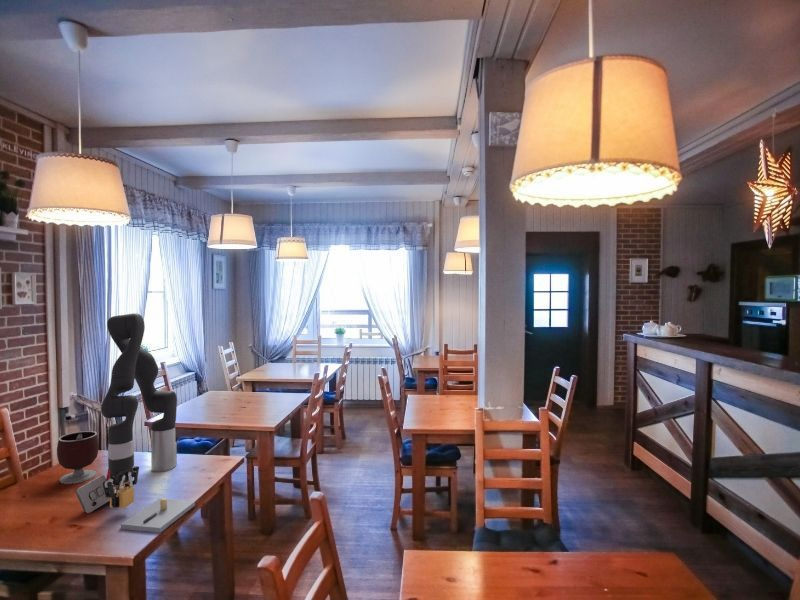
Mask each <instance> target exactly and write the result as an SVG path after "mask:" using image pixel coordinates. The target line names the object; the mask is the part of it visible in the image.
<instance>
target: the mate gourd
mask: <svg viewBox="0 0 800 600" xmlns="http://www.w3.org/2000/svg"><path fill="white" fill-rule="evenodd" d="M99 446H100V442H99V436H98V431H97V432H96V431H95V430H94V431H92V430H84V431H76V432H71V433H66V434H65V435H64V434H63V435H62V436H59V438H58V441H57V447H56V456H57V457H56V458H57V460H58V463H59V465H60V466H61V467H62V468H64V469H67V470H73V472H70V473H67V474H65V475H62V476H61V477H60V478H59V482H60V483H61V484H63V483H64V484H63V485H73V484H80V483H83V482H86V481H90V480H93V478H94V479H95V478H96V476H97V471H96V470H93V469H84V468H85V467H88V466H90V465H92V464H93V462H94V461H95V460H96V459H97V457H98V454H99V448H100V447H99ZM72 483H73V484H72Z"/></svg>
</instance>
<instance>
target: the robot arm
mask: <svg viewBox="0 0 800 600" xmlns="http://www.w3.org/2000/svg"><path fill="white" fill-rule="evenodd" d="M106 325H107V330H108V333H109V336H110V337H111V339H112V340H113V342H114V343H115V345H116V347H117V348H118V350H119V351H120V353H121V354H120V355H119V356H118V358H117V359H116V361H115V362H114V364H113V366H112V370H111V375H110V382H109V383H110V384H109V387H108V391H107V392H106V395H105V397H104V399H103V401H102V404H101V407H100V412H101V414H102V416H103V417H105V418H107V419H113V418H114V419H115V418H122V417H123V418H124V417H125V419H124V420H122V421H120V422H117V423H114V424H111V425H109V427H108V429H107V430H108V433H107V434H108V435H107V437H108V446H107V464H108V465H107V467H108V468H107V471H108V470H109V471H110V472H111V475H110V479H109V480H108V481H104V482H103V488H104V492H105V496H106V497H107V498H108V497H109V498H111V499H112V507H113V508H114V509H119V508H118V507H119V493H120V490H121V489H122V486H123V484H124V486H125V487H134V486H135V485H137V483H138V479H139V478H138V477H139V470H140V466H135V445H134V439H133V438H134V435H133V433H134V432H133V431H134V429H133V428H134V427H133V426H134V423H135V421H134V420H135V416H136V414H137V410H138V407H139V399H138V398H137V396H135V395H133V394H127V395H121V394H123V393H127V392H129V391H131V390H132V389H134V387H135V386H134V385H135V382H136V383H137V386H138V388H139V390H140V392H141V395H142V399H143V402H144V405H145V407H146V408H147V410H148V411H149V412H150V413H154V414H157V413H158V414H159V413H161V414H163V417H162V418H159V419H156V420H154V421H153V422H151V424H150V447H151V448H150V450H151V451H150V452H151V454H150V456H151V465H150V466H151V468H150V470H151V471H152V472H155V473H156V472H157V473H159V472H166V471H170V470H173V469H175V467H176V465H177V464H178V461H177V459H178V453H177V452H178V450H177V449H178V446H177V442H176V422H177V407H178V406H177V405H178V397H177V394H176V392H175V391H173V390H158V389H156V387H155V381H156V379H157V377H158V375H159V366H158V364H157V362H156V360H155V358H154V356H153V355H152V354H151V352H149V351H148V350H146V349H144V348H142V342H143V339H144V334H145V329H146V327H145V326H146V325H145V320H144V318H143V315H141V314H140V313H136V312H135V313H134V312H133V313H127V314H121V315H114V316H111V317H109V318H108V319H107V323H106ZM115 485H118V487H115ZM115 489H116V493H114V492H115ZM109 492H110V493H109Z"/></svg>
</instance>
